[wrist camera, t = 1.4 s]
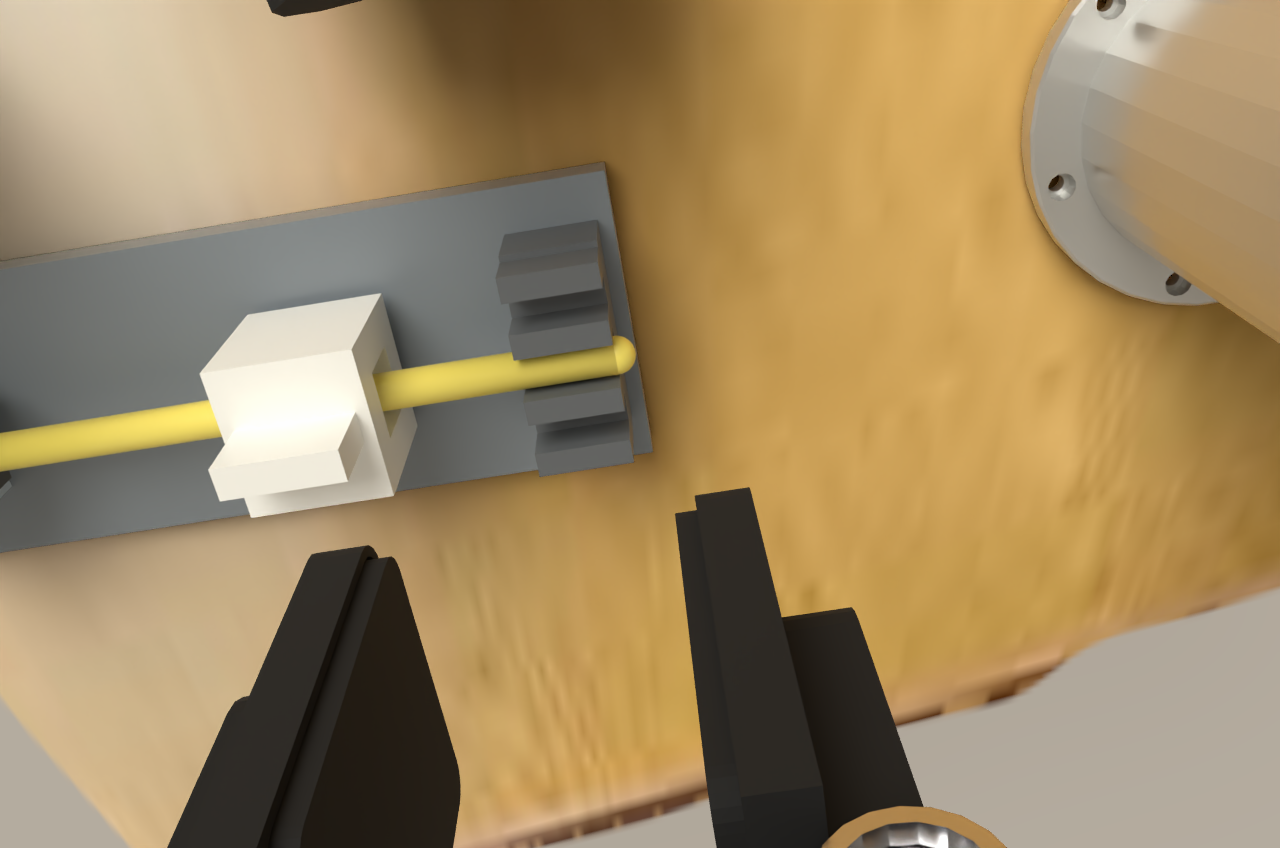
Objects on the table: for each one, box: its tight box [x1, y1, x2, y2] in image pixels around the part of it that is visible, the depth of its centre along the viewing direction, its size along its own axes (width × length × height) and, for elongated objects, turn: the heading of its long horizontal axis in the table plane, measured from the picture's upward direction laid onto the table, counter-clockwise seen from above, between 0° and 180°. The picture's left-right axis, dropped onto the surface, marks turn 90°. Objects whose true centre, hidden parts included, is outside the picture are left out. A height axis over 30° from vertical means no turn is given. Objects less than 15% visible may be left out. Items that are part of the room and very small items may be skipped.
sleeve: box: [200, 293, 417, 518], centre depth 34 cm, size 4×5×7 cm
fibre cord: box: [0, 336, 636, 472], centre depth 35 cm, size 23×1×1 cm, turn 99°
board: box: [0, 162, 653, 553], centre depth 36 cm, size 26×10×5 cm, turn 99°
